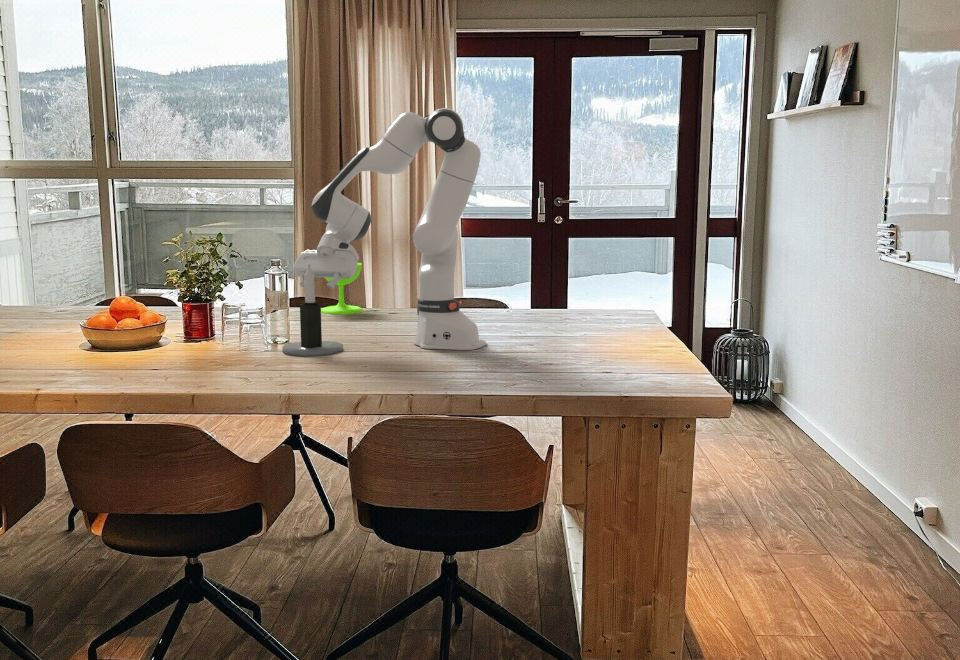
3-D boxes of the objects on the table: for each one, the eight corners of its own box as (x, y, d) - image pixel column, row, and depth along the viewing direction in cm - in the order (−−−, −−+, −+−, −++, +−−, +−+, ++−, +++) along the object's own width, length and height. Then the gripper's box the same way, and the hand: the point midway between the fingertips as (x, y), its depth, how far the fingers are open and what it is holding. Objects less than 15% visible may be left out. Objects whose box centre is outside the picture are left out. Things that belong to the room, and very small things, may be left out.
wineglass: (356, 315, 344) (354, 266, 341) (314, 313, 346) (313, 265, 343) (367, 308, 359) (366, 262, 356) (328, 307, 362) (326, 261, 359)
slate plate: (354, 347, 284) (353, 343, 284) (323, 358, 267) (323, 354, 267) (303, 342, 290) (303, 339, 290) (270, 353, 274) (270, 349, 274)
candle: (309, 348, 275) (306, 264, 271) (299, 346, 279) (296, 263, 274) (323, 346, 279) (321, 263, 274) (313, 343, 282) (310, 262, 278)
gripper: (298, 243, 286) (281, 278, 279) (356, 245, 279) (341, 281, 271) (306, 256, 291) (290, 291, 284) (364, 258, 283) (349, 294, 276)
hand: (316, 286), depth 277 cm, fingers open, 8 cm apart
